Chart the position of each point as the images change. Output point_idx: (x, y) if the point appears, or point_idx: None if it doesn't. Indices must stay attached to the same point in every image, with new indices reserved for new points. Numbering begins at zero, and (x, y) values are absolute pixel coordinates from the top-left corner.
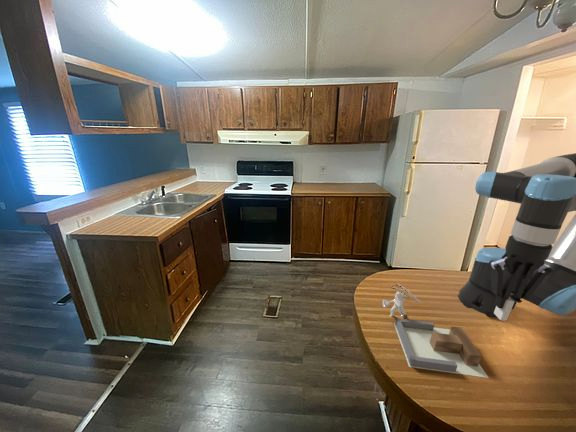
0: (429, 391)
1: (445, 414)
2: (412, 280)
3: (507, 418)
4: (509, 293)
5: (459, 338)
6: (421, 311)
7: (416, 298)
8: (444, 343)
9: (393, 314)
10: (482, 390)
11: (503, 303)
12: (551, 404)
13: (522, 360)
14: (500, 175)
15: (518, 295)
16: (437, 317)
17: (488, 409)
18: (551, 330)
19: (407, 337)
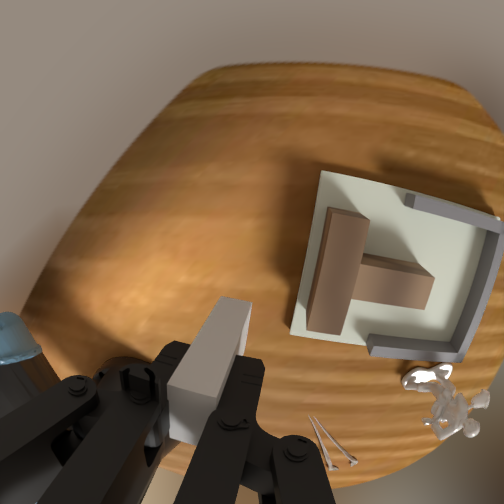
0: (480, 157)
1: (472, 108)
2: None
3: (345, 79)
4: (203, 459)
5: (353, 286)
6: (338, 397)
7: (318, 434)
8: (410, 270)
9: (441, 379)
10: (357, 144)
11: (235, 383)
12: (200, 111)
13: (166, 231)
14: None
15: (125, 422)
16: (306, 379)
17: (376, 100)
18: (51, 307)
19: (455, 307)
